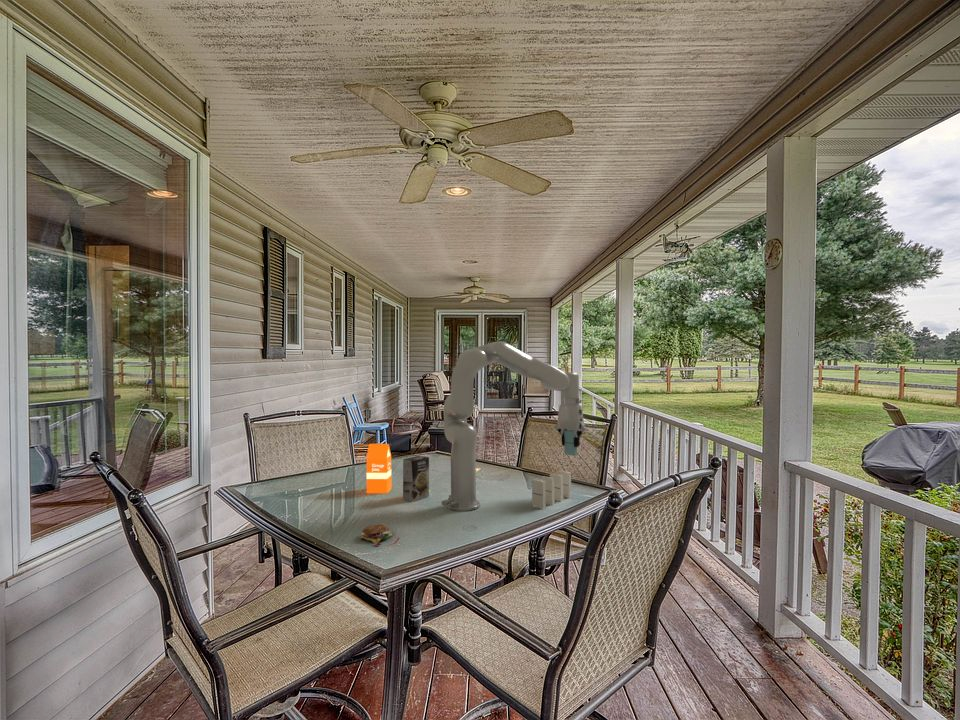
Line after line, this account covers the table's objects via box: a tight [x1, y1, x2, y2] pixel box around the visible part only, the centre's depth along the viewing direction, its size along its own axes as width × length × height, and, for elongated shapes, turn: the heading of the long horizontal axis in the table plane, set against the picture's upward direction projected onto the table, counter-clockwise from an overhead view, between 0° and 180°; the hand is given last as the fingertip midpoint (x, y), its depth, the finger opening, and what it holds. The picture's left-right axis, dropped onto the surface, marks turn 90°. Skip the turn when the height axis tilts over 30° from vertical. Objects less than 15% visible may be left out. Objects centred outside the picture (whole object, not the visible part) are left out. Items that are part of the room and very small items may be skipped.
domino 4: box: [563, 429, 578, 457], centre depth 187 cm, size 2×5×10 cm, turn 47°
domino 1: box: [531, 478, 547, 510], centre depth 169 cm, size 2×5×10 cm, turn 47°
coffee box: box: [402, 455, 430, 502], centre depth 182 cm, size 9×6×16 cm
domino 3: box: [549, 472, 564, 502], centre depth 178 cm, size 2×5×10 cm, turn 47°
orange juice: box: [366, 443, 392, 494], centre depth 193 cm, size 8×9×20 cm
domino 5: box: [558, 470, 572, 499], centre depth 182 cm, size 2×5×10 cm, turn 47°
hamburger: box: [359, 523, 400, 548], centre depth 138 cm, size 14×14×6 cm
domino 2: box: [540, 475, 556, 506], centre depth 173 cm, size 2×5×10 cm, turn 47°
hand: (570, 445), depth 187 cm, fingers closed on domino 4, 4 cm apart
